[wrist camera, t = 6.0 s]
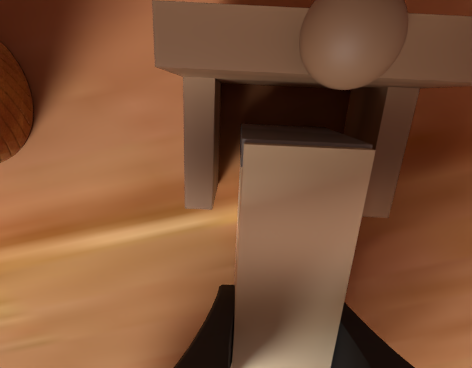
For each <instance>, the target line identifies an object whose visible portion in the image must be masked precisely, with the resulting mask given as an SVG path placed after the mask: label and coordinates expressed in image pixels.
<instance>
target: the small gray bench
mask: <svg viewBox="0 0 472 368" xmlns="http://www.w3.org/2000/svg"><path fill="white" fill-rule="evenodd" d="M152 8H153V31H154V55H155V67H157V68H160V69H163V70H165V71H168V72H171V73H174V74H177V75H179V76H182V77H183V98H184V173H185V208H188V209H209V210H212V208H213V204H214V200H215V196H216V191H217V187H218V172H219V136H220V99H221V83H231V84H251V85H272V86H292V87H313V88H332V89H338V90H350V89H351V92H350V98H349V104H348V110H347V116H346V122H345V128H344V135H347V136H350V137H353V138H355V139H358V140H361V141H364V142H366V143H369V144H372V145H373V147H372V149H373V150H376V151H375V156H374V161H373V165H372V170H371V175H370V180H369V185H368V189H367V194H366V199H365V204H364V209H363V214H362V217H380V218H389V214H390V210H391V206H392V201H393V197H394V193H395V189H396V185H397V181H398V177H399V173H400V168H401V164H402V160H403V156H404V152H405V148H406V144H407V140H408V135H409V131H410V127H411V123H412V119H413V115H414V111H415V107H416V102H417V98H418V94H419V90H420V88H440V87H462V86H472V16H455V15H435V14H415V13H408V12H407V7H406V4H405V2H404V0H315V1H314V2H313V4H312V5H311V7H310V8H296V7H276V6H256V5H236V4H216V3H196V2H176V1H156V0H152Z"/></svg>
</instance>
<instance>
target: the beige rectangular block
mask: <svg viewBox="0 0 472 368" xmlns="http://www.w3.org/2000/svg"><path fill="white" fill-rule="evenodd" d="M372 147H373V145H372V144H369V143H366V142H364V141H361V140H358V139H355V138H353V137H350V136H347V135H344V134H342V133H339V132H336V131H333V130H330V129H328V128H325V127H305V126H284V125H263V124H241V137H240V152H241V157H240V177H239V197H238V216H237V236H236V255H235V275H234V285H235V312H234V331H233V349H232V364H231V368H331V363H332V358H333V353H334V348H335V344H336V339H337V334H338V329H339V324H340V320H341V315H342V310H343V305H344V300H345V295H346V291H347V286H348V281H349V276H350V271H351V267H352V262H353V257H354V252H355V247H356V242H357V238H358V233H359V228H360V223H361V218H362V214H363V209H364V204H365V199H366V194H367V189H368V185H369V180H370V175H371V170H372V165H373V161H374V156H375V151H376V150H373V149H372Z"/></svg>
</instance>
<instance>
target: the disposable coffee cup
mask: <svg viewBox="0 0 472 368" xmlns="http://www.w3.org/2000/svg"><path fill="white" fill-rule="evenodd" d="M32 122H33V104H32V97H31V92H30V89H29V86H28V83H27V80H26V77H25V76H24V74H23V72H22V70H21V68H20V66H19V64H18V62H17V61H16V60H15V58H14V57H13V56H12V54H11V53H10V51H9V50H8V49H7V48H6V47H5V46H4V45H3V44H2V43H1V42H0V163H1V162H3V161H5V160H7V159H9V158H10V157H12V156H13V155H15V154H16V153H17V152H18V151H19V149H20V148H21V147H22V146H23V145H24V144H25V141H26V139H27V137H28V135H29V133H30V130H31V126H32Z"/></svg>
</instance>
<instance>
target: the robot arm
mask: <svg viewBox="0 0 472 368" xmlns="http://www.w3.org/2000/svg"><path fill="white" fill-rule="evenodd" d="M234 312H235V285H221V286H220V287H219V290H218V293H217V296H216V299H215V301H214V303H213V306H212V308H211V310H210V312H209V314H208V316H207V318H206V320H205V322H204V323H203V325H202V327H201V328H200V330H199V332H198V333H197V335H196V337H195V339H194V340H193V342H192V343H191V345H190V346H189V348H188V349H187V351H186V352H185V353H184V355H183V356H182V358H181V359H180V360H179V362H178V363H177V364H176V365H175V367H174V368H231V364H232V349H233V331H234ZM331 368H415V367H413V366H412V365H411V364H410V363H408V362H407V361H406V360H405V359H403V358H402V357H401V356H400V355H399V354H397V353H396V352H395V351H394V350H393V349H392V348H391V347H389V346H388V345H387V344H386V343H385V342H384V341H383V340H382V339H381V338H380V337H378V336H377V335H376V334H375V333H374V332H373V331H372V330H371V329H370V328H369V327H368V326H367V325H366V324H365V323H364V322H363V321H362V320H361V319H360V318H359V317H358V316H357V315H356V314H355V313H354V312H353V311H352V310H351V309H350V308H349V307H348V306H347V305H346V304H345V303H344V305H343V310H342V315H341V320H340V324H339V329H338V334H337V339H336V344H335V348H334V353H333V358H332V363H331Z"/></svg>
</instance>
